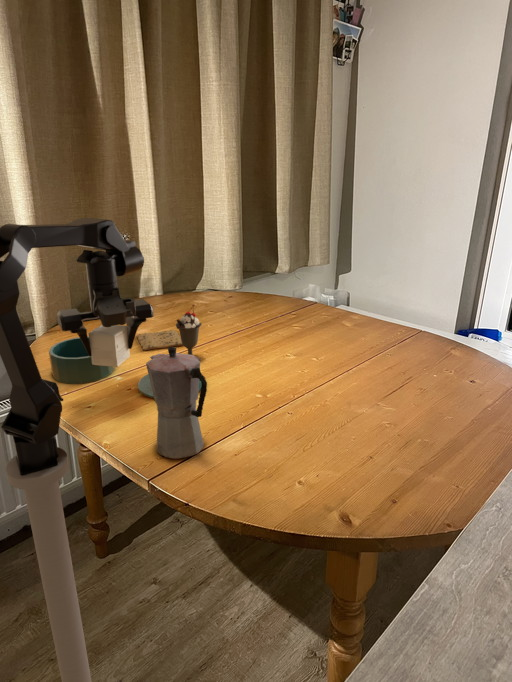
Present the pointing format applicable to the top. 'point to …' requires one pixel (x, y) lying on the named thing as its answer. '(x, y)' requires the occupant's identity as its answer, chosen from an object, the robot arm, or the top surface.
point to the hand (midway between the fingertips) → (110, 352)
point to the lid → (146, 388)
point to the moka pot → (177, 402)
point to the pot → (75, 363)
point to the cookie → (159, 339)
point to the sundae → (189, 330)
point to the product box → (109, 345)
